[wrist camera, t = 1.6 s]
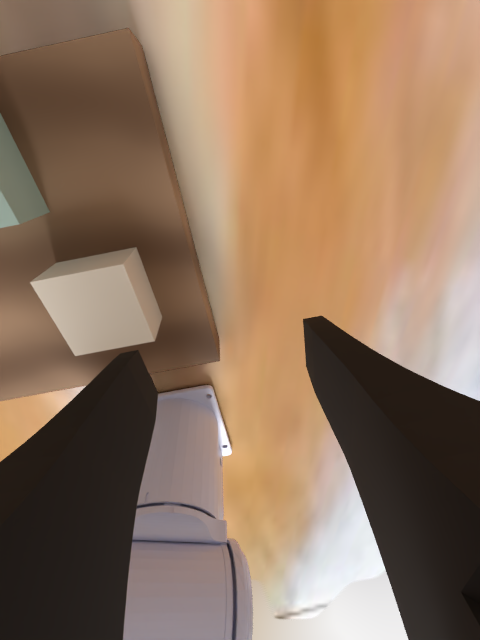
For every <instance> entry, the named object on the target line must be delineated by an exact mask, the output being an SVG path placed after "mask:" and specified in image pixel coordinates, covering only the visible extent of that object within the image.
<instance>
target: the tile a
mask: <svg viewBox="0 0 480 640" xmlns="http://www.w3.org/2000/svg"><path fill="white" fill-rule="evenodd" d="M30 283H31V285H32V287H33V288H34V290H35V292H36V293H37V295H38V296H39V298H40V300H41V301H42V303H43V305H44V306H45V308H46V309H47V311H48V313H49V314H50V316H51V318H52V319H53V321H54V322H55V324H56V326H57V327H58V329H59V331H60V332H61V334H62V335H63V337H64V339H65V340H66V342H67V344H68V345H69V347H70V349H71V350H72V352H73V353H74V355H75V356H79V355H84V354H89V353H95V352H100V351H105V350H111V349H116V348H121V347H127V346H132V345H137V344H143V343H148V342H153V341H155V339H156V336H157V333H158V329H159V326H160V323H161V320H162V315H161V312H160V309H159V307H158V304H157V301H156V299H155V296H154V293H153V291H152V288H151V285H150V283H149V280H148V277H147V275H146V272H145V269H144V266H143V264H142V261H141V258H140V256H139V253H138V250H137V248H136V247H134V248H129V249H124V250H119V251H114V252H109V253H104V254H99V255H94V256H89V257H84V258H78V259H73V260H68V261H63V262H58V263H55V264H54V265H53V266H51V267H50V268H48V269H47V270H46V271H44V272H43V273H42V274H40V275H39V276H38V277H36V278H35V279H34V280H32V281H31V282H30Z"/></svg>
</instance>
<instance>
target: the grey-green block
mask: <svg viewBox="0 0 480 640" xmlns="http://www.w3.org/2000/svg"><path fill="white" fill-rule="evenodd" d="M49 212H50V211H49V209H48V207H47V205H46V203H45V201H44V199H43V197H42V195H41V193H40V191H39V189H38V187H37V185H36V183H35V181H34V179H33V177H32V175H31V173H30V171H29V169H28V167H27V165H26V163H25V161H24V159H23V157H22V155H21V153H20V151H19V149H18V147H17V145H16V143H15V141H14V139H13V137H12V135H11V133H10V131H9V129H8V127H7V125H6V123H5V121H4V119H3V117H2V115H1V113H0V228H4V227H9V226H14V225H19V224H22V223H24V222H27V221H29V220H32V219H34V218H37V217H39V216H41V215H44V214H46V213H49Z"/></svg>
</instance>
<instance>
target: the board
mask: <svg viewBox="0 0 480 640" xmlns="http://www.w3.org/2000/svg"><path fill="white" fill-rule="evenodd" d="M0 113H1V115H2V117H3V119H4V121H5V123H6V125H7V127H8V129H9V131H10V133H11V135H12V137H13V139H14V141H15V143H16V145H17V147H18V149H19V151H20V153H21V155H22V157H23V159H24V161H25V163H26V165H27V167H28V169H29V171H30V173H31V175H32V177H33V179H34V181H35V183H36V185H37V187H38V189H39V191H40V193H41V195H42V197H43V199H44V201H45V203H46V205H47V207H48V209H49V211H50V212H49V213H46V214H44V215H41V216H39V217H37V218H34V219H32V220H29V221H27V222H24V223H22V224H19V225H14V226H9V227H4V228H0V401H4V400H10V399H15V398H21V397H26V396H32V395H37V394H42V393H48V392H53V391H59V390H64V389H70V388H75V387H80V386H86V385H88V384H89V383H90V382H91V381H92V380H93V379H94V378H95V377H96V376H97V375H98V374H99V373H100V372H101V371H102V370H103V369H104V368H105V367H106V366H107V365H108V364H109V363H110V362H111V361H112V360H113V359H115V358H116V357H117V356H118V355H119V354H120V353H125V352H130V351H135V350H139V353H140V355H141V357H142V359H143V361H144V364H145V366H146V368H147V370H148V372H149V374H151V373H157V372H162V371H167V370H173V369H178V368H184V367H189V366H195V365H200V364H205V363H211V362H216V361H220V348H219V338H218V334H217V330H216V326H215V322H214V319H213V315H212V311H211V307H210V303H209V300H208V296H207V292H206V288H205V284H204V280H203V277H202V273H201V269H200V265H199V261H198V258H197V254H196V250H195V246H194V242H193V239H192V235H191V231H190V227H189V223H188V219H187V216H186V212H185V208H184V204H183V200H182V197H181V193H180V189H179V185H178V181H177V178H176V174H175V170H174V166H173V162H172V158H171V155H170V151H169V147H168V143H167V139H166V136H165V132H164V128H163V124H162V120H161V116H160V113H159V109H158V105H157V101H156V97H155V94H154V90H153V86H152V82H151V78H150V75H149V71H148V67H147V63H146V59H145V55H144V52H143V48H142V45H141V44H140V43H139V41H138V40H137V39H136V37H135V36H134V35H133V33H132V32H131V30H130V29H129V28H126V29H121V30H116V31H112V32H107V33H103V34H98V35H94V36H89V37H84V38H80V39H75V40H71V41H66V42H62V43H57V44H52V45H48V46H43V47H39V48H34V49H29V50H25V51H20V52H16V53H11V54H7V55H2V56H0ZM134 247H136V248H137V250H138V253H139V256H140V258H141V261H142V264H143V266H144V269H145V272H146V275H147V277H148V280H149V283H150V285H151V288H152V291H153V293H154V296H155V299H156V301H157V304H158V307H159V309H160V312H161V315H162V320H161V323H160V326H159V329H158V333H157V336H156V339H155V341H153V342H148V343H143V344H137V345H132V346H127V347H121V348H116V349H111V350H105V351H100V352H95V353H89V354H84V355H79V356H75V355H74V353H73V352H72V350H71V349H70V347H69V345H68V344H67V342H66V340H65V339H64V337H63V335H62V334H61V332H60V331H59V329H58V327H57V326H56V324H55V322H54V321H53V319H52V318H51V316H50V314H49V313H48V311H47V309H46V308H45V306H44V305H43V303H42V301H41V300H40V298H39V296H38V295H37V293H36V292H35V290H34V288H33V287H32V285H31V283H30V282H31V281H32V280H34V279H35V278H36V277H38V276H39V275H40V274H42V273H43V272H44V271H46V270H47V269H48V268H50V267H51V266H53V265H54V264H55V263H58V262H63V261H68V260H73V259H78V258H84V257H89V256H94V255H99V254H104V253H109V252H114V251H119V250H124V249H129V248H134Z"/></svg>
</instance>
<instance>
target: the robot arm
mask: <svg viewBox="0 0 480 640" xmlns="http://www.w3.org/2000/svg"><path fill="white" fill-rule="evenodd" d="M303 324H304V339H305V354H306V367H307V370H308V373H309V376H310V379H311V382H312V385H313V388H314V391H315V393H316V396H317V398H318V400H319V402H320V404H321V406H322V409H323V411H324V413H325V415H326V417H327V419H328V421H329V423H330V425H331V428H332V430H333V432H334V434H335V436H336V438H337V440H338V442H339V444H340V446H341V449H342V451H343V453H344V455H345V457H346V460H347V462H348V464H349V467H350V469H351V472H352V475H353V478H354V480H355V483H356V486H357V489H358V491H359V494H360V497H361V499H362V502H363V505H364V508H365V511H366V514H367V516H368V519H369V522H370V525H371V528H372V531H373V533H374V536H375V539H376V542H377V545H378V548H379V551H380V554H381V557H382V560H383V563H384V566H385V569H386V572H387V575H388V578H389V581H390V584H391V586H392V589H393V593H394V596H395V599H396V602H397V605H398V608H399V611H400V615H401V618H402V620H403V624H404V627H405V630H406V633H407V636H408V639H409V640H480V401H478V400H475V399H473V398H470V397H468V396H465V395H463V394H460V393H458V392H455V391H453V390H451V389H448V388H446V387H444V386H442V385H439V384H437V383H435V382H433V381H431V380H429V379H427V378H424V377H422V376H420V375H418V374H416V373H414V372H412V371H410V370H408V369H406V368H404V367H402V366H400V365H399V364H397V363H395V362H393V361H391V360H390V359H388V358H386V357H384V356H382V355H381V354H379V353H377V352H376V351H374V350H372V349H371V348H369V347H368V346H366V345H364V344H363V343H361V342H360V341H358V340H357V339H355V338H353V337H352V336H350V335H349V334H347V333H346V332H345V331H343V330H342V329H340V328H339V327H337V326H336V325H334V324H333V323H332V322H330V321H329V320H327V319H326V318H324V317H323V316H318V317H312V318H307V319H303ZM207 394H210V395H207ZM231 453H232V448H231V444H230V441H229V438H228V435H227V431H226V428H225V425H224V422H223V419H222V415H221V412H220V409H219V406H218V402H217V399H216V396H215V393H214V390H213V387H212V386H210V385H204V386H198V387H193V388H187V389H182V390H176V391H171V392H165V393H160V394H158V392H157V390H156V388H155V385H154V383H153V381H152V379H151V377H150V374H149V372H148V370H147V368H146V366H145V364H144V361H143V359H142V357H141V355H140V353H139V350H135V351H130V352H125V353H120V354H119V355H118V356H117V357H116V358H115V359H113V360H112V361H111V362H110V363H109V364H108V365H107V366H106V367H105V368H104V369H103V370H102V371H101V372H100V373H99V374H98V375H97V376H96V377H95V378H94V379H93V380H92V381H91V382H90V383H89V384H88V385H87V386H86V387H85V388H84V389H83V390H82V391H81V392H80V393H79V394H78V395H77V396H76V397H75V398H74V399H73V400H72V401H71V402H70V403H68V404H67V405H66V406H65V407H64V408H63V409H62V410H61V411H60V412H59V413H58V414H56V415H55V416H54V417H53V418H52V419H51V420H50V421H49V422H48V423H47V424H46V425H45V426H43V427H42V428H41V429H40V430H39V431H38V432H37V433H35V434H34V435H33V436H32V437H31V438H30V439H28V440H27V441H26V442H25V443H24V444H22V445H21V446H20V447H19V448H17V449H16V450H15V451H14V452H12V453H11V454H10V455H9V456H7V457H6V458H5V459H4V460H2V461H1V462H0V640H252V629H253V627H252V626H253V602H252V587H251V578H250V572H249V567H248V563H247V559H246V557H245V555H244V553H243V551H242V550H241V548H240V546H239V544H238V542H237V541H236V540H235V539H227V521H225V520H223V516H224V507H223V463H222V456H227V455H230V454H231Z"/></svg>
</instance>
